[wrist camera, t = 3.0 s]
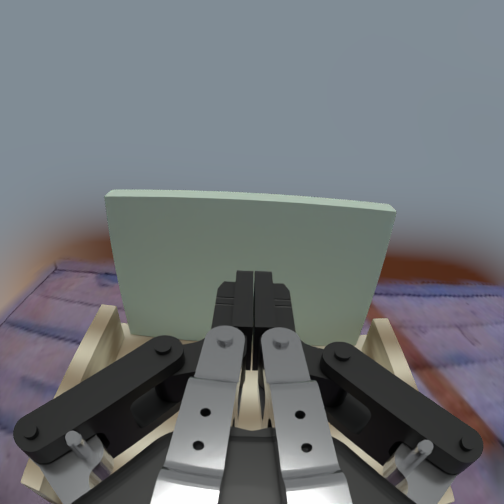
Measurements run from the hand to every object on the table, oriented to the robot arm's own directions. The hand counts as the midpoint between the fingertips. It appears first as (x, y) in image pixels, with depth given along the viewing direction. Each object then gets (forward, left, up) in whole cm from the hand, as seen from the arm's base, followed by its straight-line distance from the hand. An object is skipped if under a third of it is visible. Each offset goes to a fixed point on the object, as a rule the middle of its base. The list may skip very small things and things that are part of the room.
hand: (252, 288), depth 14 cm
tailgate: (-5, +10, -14) cm, 18 cm away
